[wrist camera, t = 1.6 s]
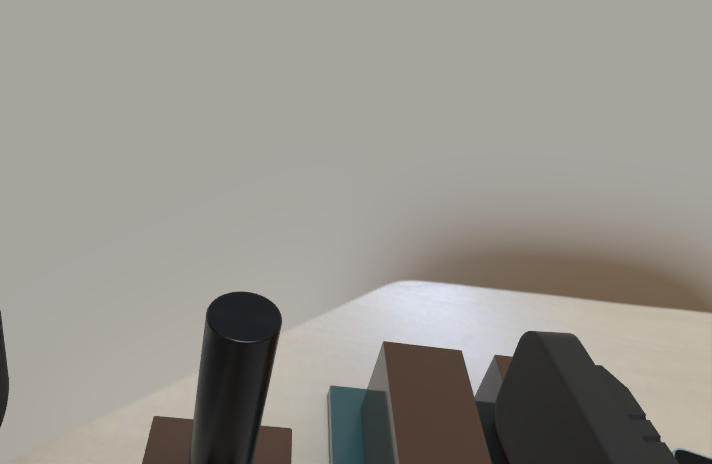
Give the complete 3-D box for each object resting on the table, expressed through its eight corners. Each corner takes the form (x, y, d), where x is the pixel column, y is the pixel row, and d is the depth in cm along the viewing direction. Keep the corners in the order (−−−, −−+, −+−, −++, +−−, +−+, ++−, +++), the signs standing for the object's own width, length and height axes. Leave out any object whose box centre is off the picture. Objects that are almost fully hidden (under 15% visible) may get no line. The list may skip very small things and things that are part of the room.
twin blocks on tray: (625, 629, 39) (691, 559, 35) (334, 617, 36) (367, 539, 31) (545, 416, 52) (586, 346, 48) (327, 393, 49) (349, 316, 44)
